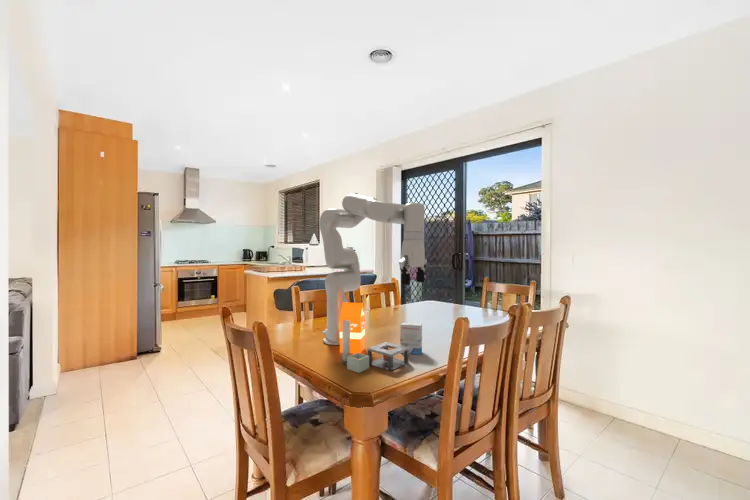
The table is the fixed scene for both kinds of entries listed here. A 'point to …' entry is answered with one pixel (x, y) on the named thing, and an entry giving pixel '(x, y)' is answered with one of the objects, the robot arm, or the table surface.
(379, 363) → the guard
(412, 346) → the ink box
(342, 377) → the table surface
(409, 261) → the robot arm
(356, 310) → the orange juice
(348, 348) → the grey rod
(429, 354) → the table surface
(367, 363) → the box
